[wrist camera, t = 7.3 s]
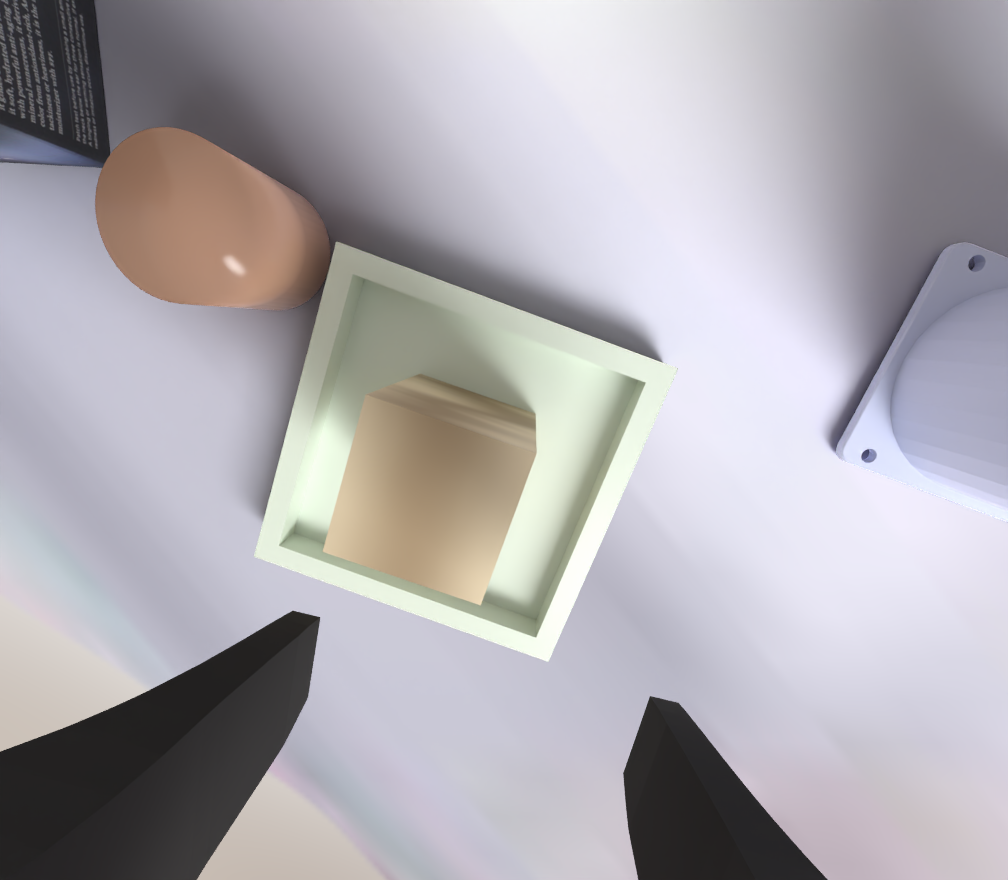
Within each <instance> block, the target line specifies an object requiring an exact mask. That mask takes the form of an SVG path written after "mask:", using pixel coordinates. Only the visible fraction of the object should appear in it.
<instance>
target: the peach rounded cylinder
mask: <svg viewBox="0 0 1008 880" xmlns="http://www.w3.org/2000/svg"><path fill="white" fill-rule="evenodd" d="M95 207H96V218H97V224H98V228H99V231H100V235H101V238H102V240H103V243H104V245H105V247H106V249H107V251H108V253H109V255H110V257H111V258H112V260H113V261H114V263H115V264H116V266H117V267H118V268H119V269H120V271H121V272H122V273H123V274H124V275H125V276H126V277H127V278H128V279H129V280H130V281H131V282H132V283H133V284H135V285H136V286H137V287H139V288H140V289H141V290H143V291H145V292H146V293H148V294H150V295H152V296H154V297H156V298H159V299H161V300H165V301H168V302H173V303H179V304H192V305H206V306H219V307H233V308H246V309H260V310H274V311H281V310H288V309H292V308H295V307H298V306H300V305H302V304H304V303H305V302H307V301H308V300H309V299H311V298H312V297H313V296H314V295H315V294H316V293H317V292H318V290H319V289H320V287H321V286H322V284H323V282H324V280H325V278H326V275H327V272H328V269H329V264H330V242H329V237H328V233H327V230H326V227H325V225H324V223H323V221H322V219H321V217H320V215H319V214H318V212H317V211H316V210H315V208H314V207H313V206H312V205H311V204H310V203H309V202H308V201H307V200H306V199H305V198H304V197H303V196H301V195H300V194H298V193H297V192H295V191H294V190H292V189H290V188H288V187H287V186H285V185H283V184H282V183H280V182H278V181H276V180H275V179H273V178H271V177H270V176H268V175H266V174H264V173H263V172H261V171H259V170H257V169H256V168H254V167H252V166H251V165H249V164H247V163H245V162H244V161H242V160H240V159H239V158H237V157H235V156H233V155H232V154H230V153H228V152H226V151H225V150H223V149H221V148H220V147H218V146H216V145H214V144H213V143H211V142H209V141H208V140H206V139H204V138H202V137H200V136H198V135H196V134H194V133H192V132H189V131H185V130H182V129H177V128H171V127H157V128H151V129H146V130H143V131H140V132H137V133H136V134H134V135H132V136H130V137H128V138H127V139H125V140H124V141H123V142H121V143H120V144H119V145H118V146H117V147H116V148H115V149H114V150H113V152H112V153H111V154H110V156H109V157H108V158H107V160H106V162H105V164H104V166H103V168H102V170H101V173H100V176H99V179H98V184H97V188H96V198H95Z"/></svg>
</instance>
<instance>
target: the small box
mask: <svg viewBox="0 0 1008 880" xmlns="http://www.w3.org/2000/svg"><path fill="white" fill-rule="evenodd" d="M109 156H110V150H109V141H108V130H107V121H106V111H105V102H104V93H103V82H102V74H101V65H100V56H99V47H98V39H97V29H96V20H95V10H94V2H93V0H0V162H9V163H26V164H45V165H60V166H83V167H99V168H103V166H104V164H105V162H106V160H107V158H108V157H109Z"/></svg>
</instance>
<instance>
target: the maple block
mask: <svg viewBox="0 0 1008 880" xmlns="http://www.w3.org/2000/svg"><path fill="white" fill-rule="evenodd" d="M536 454H537V448H536V414H535V413H532V412H529V411H526V410H523V409H521V408H518V407H515V406H512V405H509V404H506V403H503V402H500V401H497V400H495V399H492V398H489V397H486V396H483V395H480V394H477V393H474V392H472V391H469V390H466V389H463V388H460V387H457V386H454V385H451V384H448V383H446V382H443V381H440V380H437V379H434V378H431V377H428V376H425V375H423V374H418V375H415V376H413V377H410V378H408V379H405V380H402V381H400V382H397V383H394V384H392V385H389V386H387V387H384V388H381V389H379V390H376V391H373V392H371V393H368V394H366V395H365V399H364V402H363V406H362V410H361V413H360V417H359V420H358V424H357V428H356V431H355V435H354V439H353V442H352V446H351V450H350V453H349V457H348V461H347V464H346V468H345V471H344V475H343V479H342V482H341V486H340V490H339V493H338V497H337V501H336V504H335V508H334V512H333V515H332V519H331V523H330V526H329V530H328V533H327V537H326V541H325V544H324V548H323V552H325V553H328V554H331V555H333V556H336V557H339V558H342V559H345V560H348V561H351V562H354V563H357V564H360V565H363V566H366V567H369V568H372V569H375V570H378V571H381V572H383V573H386V574H389V575H392V576H395V577H398V578H401V579H404V580H407V581H410V582H413V583H416V584H419V585H422V586H425V587H428V588H431V589H433V590H436V591H439V592H442V593H445V594H448V595H451V596H454V597H457V598H460V599H463V600H466V601H469V602H472V603H475V604H478V605H481V603H482V600H483V598H484V595H485V592H486V590H487V587H488V584H489V581H490V579H491V576H492V573H493V571H494V568H495V565H496V562H497V560H498V557H499V554H500V552H501V549H502V546H503V543H504V541H505V538H506V535H507V533H508V530H509V527H510V524H511V522H512V519H513V516H514V514H515V511H516V508H517V506H518V503H519V500H520V497H521V495H522V492H523V489H524V487H525V484H526V481H527V478H528V476H529V473H530V470H531V468H532V465H533V462H534V459H535V457H536Z"/></svg>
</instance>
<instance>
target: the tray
mask: <svg viewBox="0 0 1008 880" xmlns="http://www.w3.org/2000/svg"><path fill="white" fill-rule="evenodd" d="M677 370H678V368H675V367H673V366H670V365H667V364H665V363H662V362H659V361H657V360H654V359H651V358H649V357H646V356H643V355H641V354H638V353H635V352H632V351H630V350H627V349H624V348H622V347H619V346H616V345H614V344H611V343H608V342H606V341H603V340H600V339H598V338H595V337H592V336H590V335H587V334H584V333H581V332H579V331H576V330H573V329H571V328H568V327H565V326H563V325H560V324H557V323H555V322H552V321H549V320H547V319H544V318H541V317H538V316H536V315H533V314H530V313H528V312H525V311H522V310H520V309H517V308H514V307H512V306H509V305H506V304H504V303H501V302H498V301H496V300H493V299H490V298H487V297H485V296H482V295H479V294H477V293H474V292H471V291H469V290H466V289H463V288H461V287H458V286H455V285H453V284H450V283H447V282H444V281H442V280H439V279H436V278H434V277H431V276H428V275H426V274H423V273H420V272H418V271H415V270H412V269H410V268H407V267H404V266H402V265H399V264H396V263H393V262H391V261H388V260H385V259H383V258H380V257H377V256H375V255H372V254H369V253H367V252H364V251H361V250H359V249H356V248H353V247H351V246H348V245H345V244H342V243H340V242H337V241H336V244H335V248H334V252H333V256H332V260H331V264H330V267H329V271H328V275H327V279H326V283H325V287H324V290H323V294H322V298H321V302H320V306H319V310H318V313H317V317H316V321H315V325H314V329H313V332H312V336H311V340H310V344H309V348H308V352H307V355H306V359H305V363H304V367H303V371H302V375H301V378H300V382H299V386H298V390H297V394H296V398H295V401H294V405H293V409H292V413H291V417H290V421H289V424H288V428H287V432H286V436H285V440H284V444H283V447H282V451H281V455H280V459H279V463H278V467H277V470H276V474H275V478H274V482H273V486H272V489H271V493H270V497H269V501H268V505H267V509H266V512H265V516H264V520H263V524H262V528H261V532H260V535H259V539H258V543H257V547H256V551H255V555H254V557H256V558H259V559H262V560H265V561H267V562H270V563H273V564H276V565H279V566H281V567H284V568H287V569H290V570H293V571H295V572H298V573H301V574H304V575H307V576H309V577H312V578H315V579H318V580H321V581H323V582H326V583H329V584H332V585H335V586H337V587H340V588H343V589H346V590H349V591H351V592H354V593H357V594H360V595H363V596H365V597H368V598H371V599H374V600H377V601H379V602H382V603H385V604H388V605H391V606H393V607H396V608H399V609H402V610H405V611H407V612H410V613H413V614H416V615H419V616H421V617H424V618H427V619H430V620H433V621H435V622H438V623H441V624H444V625H447V626H449V627H452V628H455V629H458V630H460V631H463V632H466V633H469V634H472V635H474V636H477V637H480V638H483V639H486V640H488V641H491V642H494V643H497V644H500V645H502V646H505V647H508V648H511V649H514V650H516V651H519V652H522V653H525V654H528V655H530V656H533V657H536V658H539V659H542V660H544V661H547V662H548V661H549V659H550V657H551V654H552V652H553V650H554V648H555V645H556V643H557V641H558V638H559V636H560V634H561V632H562V629H563V627H564V625H565V623H566V620H567V618H568V616H569V614H570V611H571V609H572V607H573V605H574V602H575V600H576V598H577V596H578V593H579V591H580V589H581V587H582V584H583V582H584V580H585V578H586V575H587V573H588V571H589V569H590V566H591V564H592V562H593V560H594V557H595V555H596V553H597V551H598V548H599V546H600V544H601V542H602V539H603V537H604V535H605V533H606V530H607V528H608V526H609V523H610V521H611V519H612V517H613V514H614V512H615V510H616V508H617V505H618V503H619V501H620V499H621V496H622V494H623V492H624V490H625V487H626V485H627V483H628V481H629V478H630V476H631V474H632V472H633V469H634V467H635V465H636V463H637V460H638V458H639V456H640V454H641V451H642V449H643V447H644V445H645V442H646V440H647V438H648V436H649V433H650V431H651V429H652V427H653V424H654V422H655V420H656V417H657V415H658V413H659V411H660V408H661V406H662V404H663V402H664V399H665V397H666V395H667V393H668V390H669V388H670V386H671V384H672V381H673V379H674V377H675V375H676V372H677ZM418 374H423V375H425V376H428V377H431V378H434V379H437V380H440V381H443V382H446V383H448V384H451V385H454V386H457V387H460V388H463V389H466V390H469V391H472V392H474V393H477V394H480V395H483V396H486V397H489V398H492V399H495V400H497V401H500V402H503V403H506V404H509V405H512V406H515V407H518V408H521V409H523V410H526V411H529V412H532V413H535V414H536V448H537V454H536V457H535V459H534V462H533V465H532V468H531V470H530V473H529V476H528V478H527V481H526V484H525V487H524V489H523V492H522V495H521V497H520V500H519V503H518V506H517V508H516V511H515V514H514V516H513V519H512V522H511V524H510V527H509V530H508V533H507V535H506V538H505V541H504V543H503V546H502V549H501V552H500V554H499V557H498V560H497V562H496V565H495V568H494V571H493V573H492V576H491V579H490V581H489V584H488V587H487V590H486V592H485V595H484V598H483V600H482V603H481V605H478V604H475V603H472V602H469V601H466V600H463V599H460V598H457V597H454V596H451V595H448V594H445V593H442V592H439V591H436V590H433V589H431V588H428V587H425V586H422V585H419V584H416V583H413V582H410V581H407V580H404V579H401V578H398V577H395V576H392V575H389V574H386V573H383V572H381V571H378V570H375V569H372V568H369V567H366V566H363V565H360V564H357V563H354V562H351V561H348V560H345V559H342V558H339V557H336V556H333V555H331V554H328V553H325V552H323V548H324V544H325V541H326V537H327V533H328V530H329V526H330V523H331V519H332V515H333V512H334V508H335V504H336V501H337V497H338V493H339V490H340V486H341V482H342V479H343V475H344V471H345V468H346V464H347V461H348V457H349V453H350V450H351V446H352V442H353V439H354V435H355V431H356V428H357V424H358V420H359V417H360V413H361V410H362V406H363V402H364V399H365V395H366V394H368V393H371V392H373V391H376V390H379V389H381V388H384V387H387V386H389V385H392V384H394V383H397V382H400V381H402V380H405V379H408V378H410V377H413V376H415V375H418Z"/></svg>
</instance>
